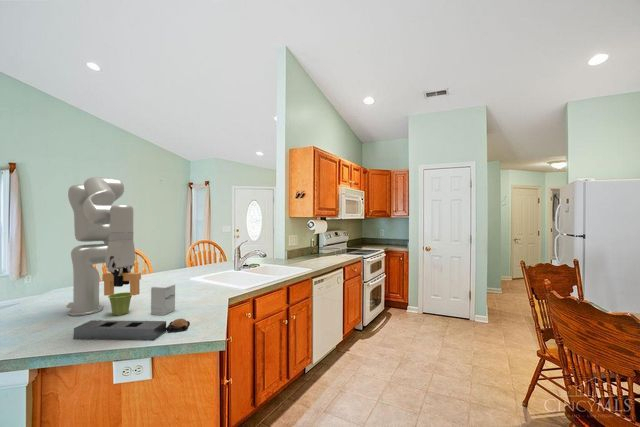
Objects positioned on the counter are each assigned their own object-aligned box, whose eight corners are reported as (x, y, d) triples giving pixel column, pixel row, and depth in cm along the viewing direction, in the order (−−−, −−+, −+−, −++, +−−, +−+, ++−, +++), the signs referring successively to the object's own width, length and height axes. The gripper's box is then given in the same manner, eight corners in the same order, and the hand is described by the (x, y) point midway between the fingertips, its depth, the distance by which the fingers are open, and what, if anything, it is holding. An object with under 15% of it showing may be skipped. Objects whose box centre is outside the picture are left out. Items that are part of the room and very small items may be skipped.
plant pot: (111, 311, 136) (111, 293, 136) (134, 309, 140) (134, 291, 140) (105, 318, 128) (105, 298, 128) (130, 315, 131) (130, 296, 131)
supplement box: (164, 315, 131) (164, 287, 131) (150, 314, 132) (150, 286, 132) (175, 310, 138) (175, 284, 138) (162, 309, 140) (162, 283, 140)
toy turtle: (168, 325, 120) (168, 316, 120) (190, 323, 123) (190, 314, 123) (164, 335, 110) (164, 325, 110) (188, 332, 113) (188, 322, 113)
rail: (73, 339, 106) (73, 328, 106) (91, 330, 114) (91, 320, 114) (153, 340, 105) (153, 329, 105) (166, 331, 113) (166, 321, 113)
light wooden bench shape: (102, 295, 109) (102, 274, 109) (108, 293, 112) (108, 273, 112) (136, 295, 108) (136, 274, 109) (141, 293, 111) (141, 272, 111)
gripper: (126, 236, 119) (126, 280, 118) (95, 238, 102) (95, 290, 102) (144, 235, 118) (144, 280, 118) (115, 238, 102) (115, 290, 102)
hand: (121, 284), depth 110 cm, fingers closed on light wooden bench shape, 2 cm apart
